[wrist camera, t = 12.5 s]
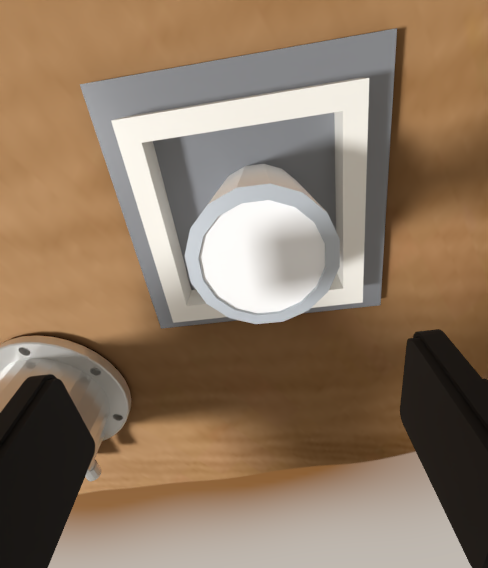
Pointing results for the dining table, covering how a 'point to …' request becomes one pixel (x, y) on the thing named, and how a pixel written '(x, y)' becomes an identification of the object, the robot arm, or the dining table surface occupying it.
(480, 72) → the dining table surface
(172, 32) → the dining table surface
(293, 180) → the white cup
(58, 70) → the dining table surface
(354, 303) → the holder tray
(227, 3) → the dining table surface
